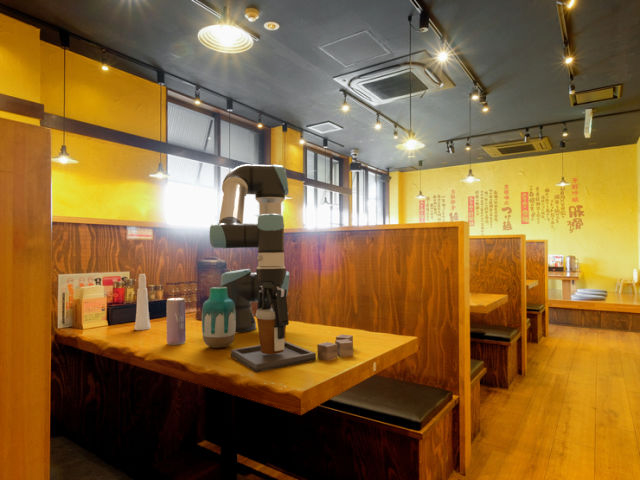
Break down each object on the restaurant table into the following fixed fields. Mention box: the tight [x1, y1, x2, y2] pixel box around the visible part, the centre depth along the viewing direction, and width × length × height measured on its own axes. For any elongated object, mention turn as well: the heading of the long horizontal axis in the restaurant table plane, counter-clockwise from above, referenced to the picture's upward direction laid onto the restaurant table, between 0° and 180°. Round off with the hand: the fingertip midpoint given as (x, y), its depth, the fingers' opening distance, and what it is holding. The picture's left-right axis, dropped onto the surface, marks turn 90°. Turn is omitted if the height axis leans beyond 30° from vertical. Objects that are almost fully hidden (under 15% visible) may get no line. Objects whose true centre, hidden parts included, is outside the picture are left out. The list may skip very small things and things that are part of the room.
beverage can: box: [166, 297, 187, 346], centre depth 132 cm, size 6×6×15 cm
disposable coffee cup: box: [254, 306, 287, 354], centre depth 112 cm, size 10×10×12 cm
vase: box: [201, 286, 236, 349], centre depth 126 cm, size 11×11×19 cm
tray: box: [230, 340, 317, 373], centre depth 112 cm, size 18×18×2 cm
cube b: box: [334, 339, 354, 358], centre depth 115 cm, size 4×4×4 cm
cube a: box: [316, 341, 338, 362], centre depth 111 cm, size 4×4×4 cm
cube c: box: [335, 334, 354, 343], centre depth 121 cm, size 4×4×4 cm
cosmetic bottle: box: [134, 273, 152, 331], centre depth 157 cm, size 6×6×22 cm
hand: (272, 346), depth 112 cm, fingers closed on disposable coffee cup, 8 cm apart
